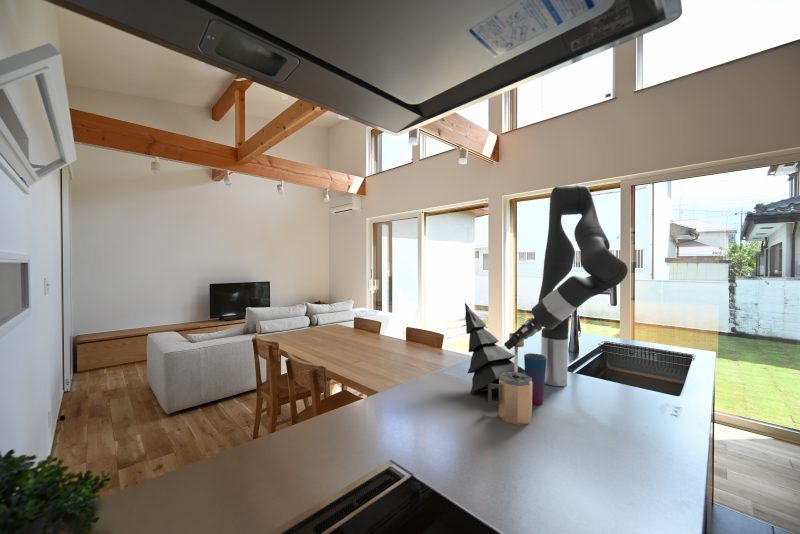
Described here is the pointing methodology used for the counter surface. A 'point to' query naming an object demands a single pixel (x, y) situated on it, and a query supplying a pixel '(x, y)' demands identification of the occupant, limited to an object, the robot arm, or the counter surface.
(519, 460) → the counter surface
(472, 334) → the decorative tree
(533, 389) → the cup
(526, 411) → the press pot
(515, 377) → the plunger
